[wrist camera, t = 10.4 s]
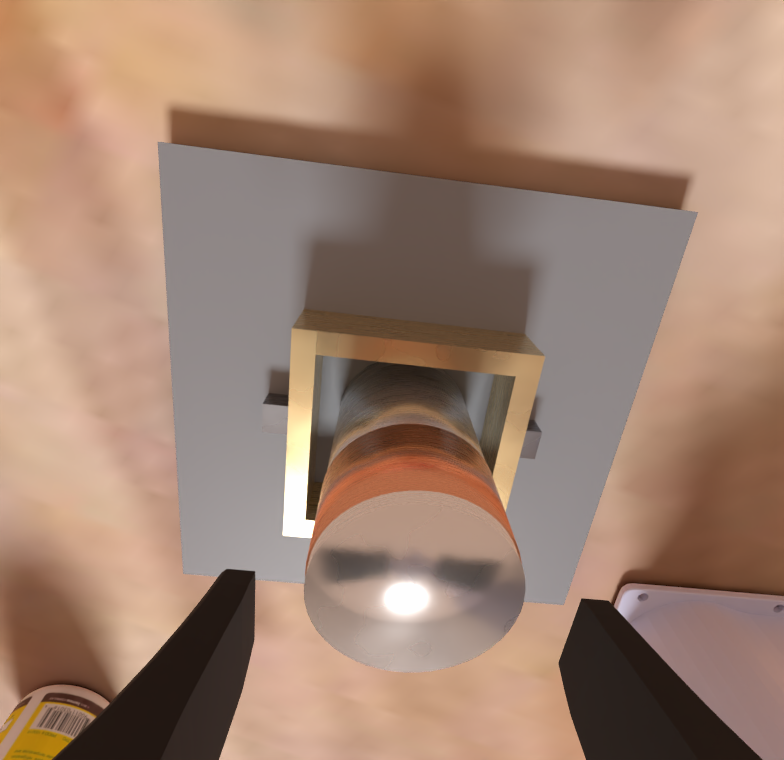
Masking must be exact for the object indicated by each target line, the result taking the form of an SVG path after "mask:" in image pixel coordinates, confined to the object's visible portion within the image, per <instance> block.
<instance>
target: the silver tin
mask: <svg viewBox="0 0 784 760" xmlns="http://www.w3.org/2000/svg"><path fill="white" fill-rule="evenodd" d="M525 591H526V588H525V575H524V570H523V567H522V561H521V556H520V551H519V549H518V546H517V543H516V540H515V538H514V535H513V532H512V529H511V526H510V524H509V521H508V518H507V515H506V512H505V510H504V507H503V504H502V501H501V499H500V496H499V493H498V490H497V487H496V485H495V482H494V479H493V476H492V474H491V471H490V469H489V467H488V465H487V463H486V461H485V459H484V456H483V453H482V450H481V448H480V445H479V442H478V439H477V436H476V433H475V430H474V428H473V425H472V422H471V419H470V416H469V413H468V411H467V408H466V405H465V402H464V399H463V397H462V394H461V391H460V389H459V388H458V386H457V384H456V383H455V382H454V380H453V379H452V378H451V377H450V376H449V375H448V374H447V373H446V372H445V371H444V370H442V369H441V368H433V367H424V366H415V365H405V364H396V363H387V362H377V363H374V364H372V365H370V366H368V367H367V368H365V369H364V370H363V371H361V372H360V373H359V374H358V375H357V376H356V377H355V378H354V379H353V380H352V381H351V382H350V384H349V385H348V387H347V389H346V390H345V393H344V395H343V397H342V401H341V405H340V410H339V415H338V419H337V424H336V429H335V434H334V439H333V444H332V449H331V454H330V459H329V464H328V468H327V473H326V475H325V477H324V481H323V485H322V489H321V494H320V499H319V503H318V508H317V513H316V518H315V522H314V527H313V532H312V537H311V541H310V546H309V551H308V556H307V560H306V568H305V583H304V600H305V605H306V609H307V613H308V615H309V617H310V619H311V622H312V623H313V625H314V627H315V628H316V630H317V631H318V632H319V634H320V635H321V636H322V637H323V638H324V639H325V640H326V641H327V642H328V643H329V644H330V645H331V646H332V647H333V648H335V649H336V650H338V651H339V652H341V653H342V654H344V655H345V656H347V657H349V658H351V659H353V660H355V661H357V662H360V663H362V664H365V665H367V666H371V667H374V668H378V669H383V670H388V671H395V672H427V671H435V670H440V669H445V668H449V667H452V666H456V665H459V664H461V663H464V662H467V661H469V660H471V659H473V658H475V657H477V656H479V655H481V654H482V653H484V652H485V651H487V650H488V649H490V648H491V647H493V646H494V645H495V644H496V643H497V642H499V641H500V640H501V639H502V638H503V637H504V636H505V635H506V633H507V632H508V631H509V630H510V629H511V627H512V626H513V624H514V623H515V621H516V619H517V618H518V616H519V614H520V612H521V609H522V605H523V602H524V597H525Z"/></svg>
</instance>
